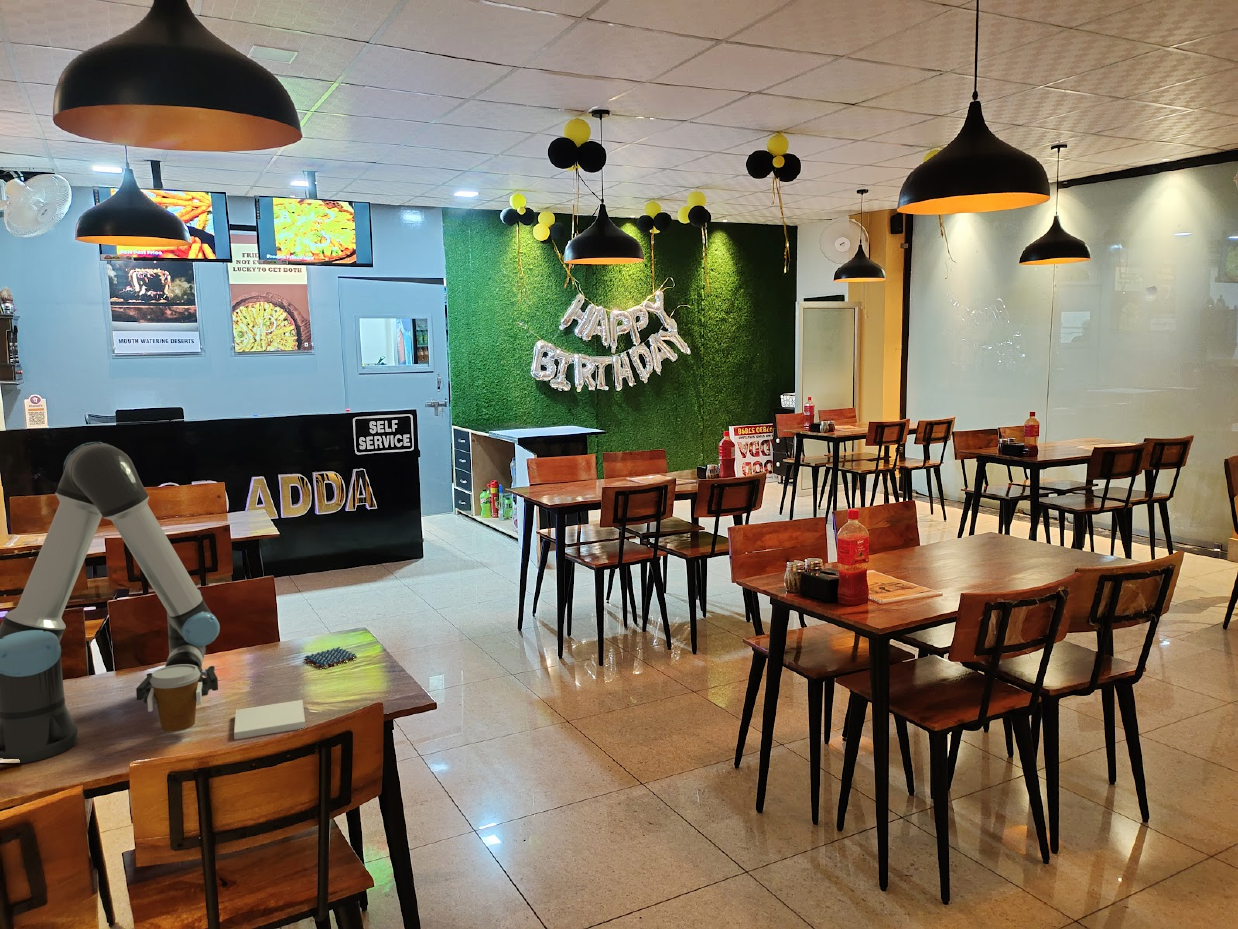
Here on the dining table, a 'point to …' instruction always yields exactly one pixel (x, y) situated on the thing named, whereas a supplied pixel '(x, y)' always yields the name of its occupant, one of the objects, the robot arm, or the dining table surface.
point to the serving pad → (269, 719)
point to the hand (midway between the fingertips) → (174, 701)
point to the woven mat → (329, 657)
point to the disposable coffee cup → (176, 696)
